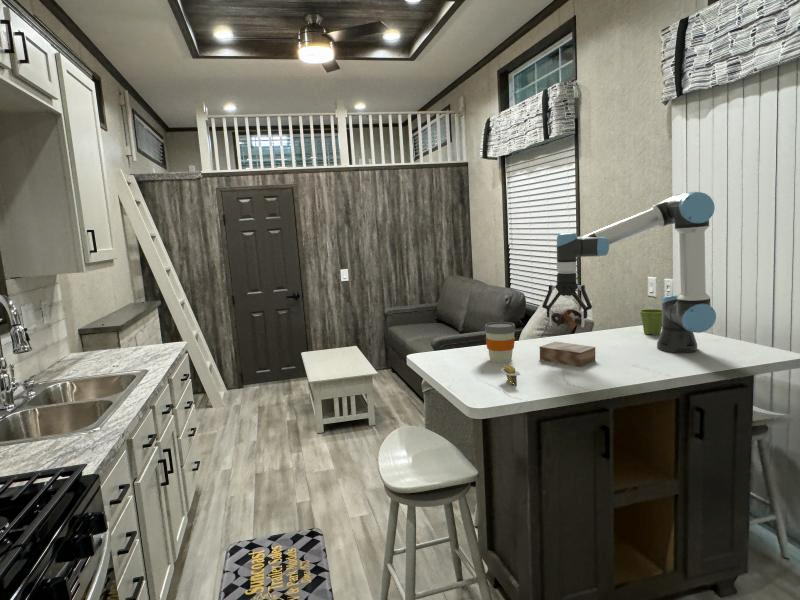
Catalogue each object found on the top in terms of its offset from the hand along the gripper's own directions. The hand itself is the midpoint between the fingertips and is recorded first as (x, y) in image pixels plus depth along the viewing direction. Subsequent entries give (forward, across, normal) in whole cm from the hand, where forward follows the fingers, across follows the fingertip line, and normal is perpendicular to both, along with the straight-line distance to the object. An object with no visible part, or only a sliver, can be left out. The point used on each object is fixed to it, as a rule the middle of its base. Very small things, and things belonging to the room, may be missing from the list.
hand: (566, 325), depth 210 cm
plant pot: (+14, -30, -61) cm, 70 cm away
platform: (+15, +14, +37) cm, 42 cm away
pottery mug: (+1, 0, -1) cm, 2 cm away
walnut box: (+15, 0, 0) cm, 15 cm away
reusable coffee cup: (+15, +26, +6) cm, 30 cm away
